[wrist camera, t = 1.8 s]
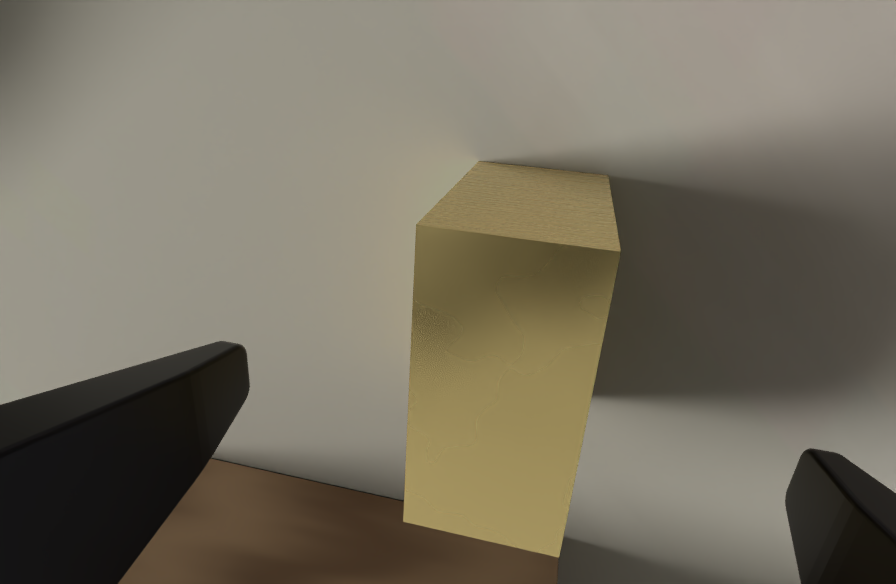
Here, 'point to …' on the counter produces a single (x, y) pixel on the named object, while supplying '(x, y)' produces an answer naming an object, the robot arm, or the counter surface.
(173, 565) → the tan block with hole
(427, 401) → the block
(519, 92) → the counter surface
